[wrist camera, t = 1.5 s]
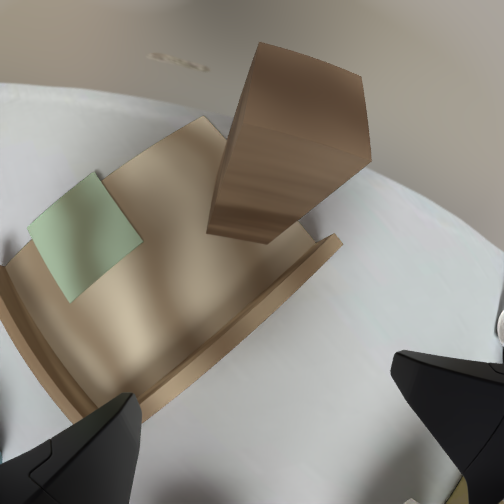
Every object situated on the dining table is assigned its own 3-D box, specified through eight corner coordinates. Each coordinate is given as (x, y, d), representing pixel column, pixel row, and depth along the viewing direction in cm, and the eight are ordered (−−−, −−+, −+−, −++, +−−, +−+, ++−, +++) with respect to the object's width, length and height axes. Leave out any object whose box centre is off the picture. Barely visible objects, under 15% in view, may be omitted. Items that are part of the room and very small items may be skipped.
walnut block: (267, 244, 21) (371, 161, 9) (205, 233, 21) (242, 122, 8) (273, 189, 22) (361, 76, 10) (216, 177, 22) (259, 41, 9)
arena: (111, 434, 16) (101, 453, 13) (-5, 265, 16) (-28, 257, 13) (321, 253, 23) (343, 244, 20) (196, 111, 23) (199, 85, 20)
